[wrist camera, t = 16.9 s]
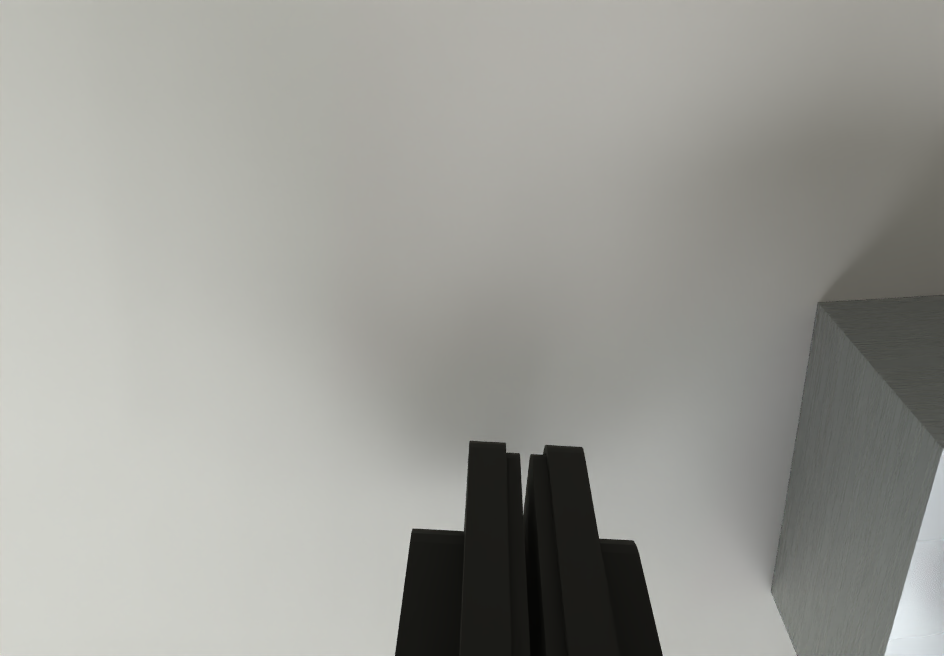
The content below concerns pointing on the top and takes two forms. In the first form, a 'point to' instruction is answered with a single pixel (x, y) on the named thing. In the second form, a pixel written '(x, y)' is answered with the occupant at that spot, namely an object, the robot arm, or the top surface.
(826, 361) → the slab
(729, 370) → the top surface
